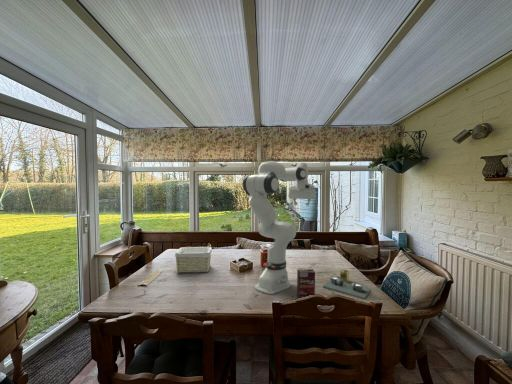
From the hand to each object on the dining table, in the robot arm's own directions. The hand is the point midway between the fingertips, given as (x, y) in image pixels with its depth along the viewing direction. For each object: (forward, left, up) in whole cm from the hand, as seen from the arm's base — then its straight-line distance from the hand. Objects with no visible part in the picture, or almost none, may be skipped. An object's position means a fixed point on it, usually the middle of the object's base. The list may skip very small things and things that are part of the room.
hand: (301, 205), depth 167 cm
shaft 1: (-10, -29, -47) cm, 56 cm away
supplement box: (-39, -23, -47) cm, 65 cm away
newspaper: (-76, +70, -48) cm, 114 cm away
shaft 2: (-11, -43, -47) cm, 65 cm away
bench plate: (-12, -36, -47) cm, 60 cm away
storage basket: (-48, +61, -47) cm, 91 cm away
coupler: (-1, -31, -47) cm, 56 cm away
